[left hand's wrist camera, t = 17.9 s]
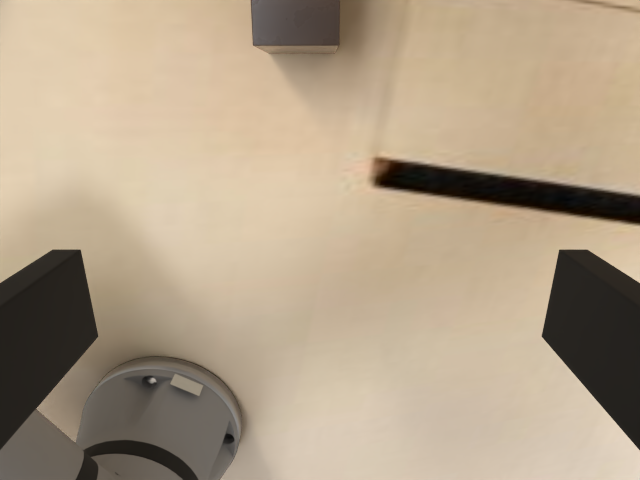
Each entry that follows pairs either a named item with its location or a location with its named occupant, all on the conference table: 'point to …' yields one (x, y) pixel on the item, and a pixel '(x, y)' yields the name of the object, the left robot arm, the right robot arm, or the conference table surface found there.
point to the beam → (296, 26)
